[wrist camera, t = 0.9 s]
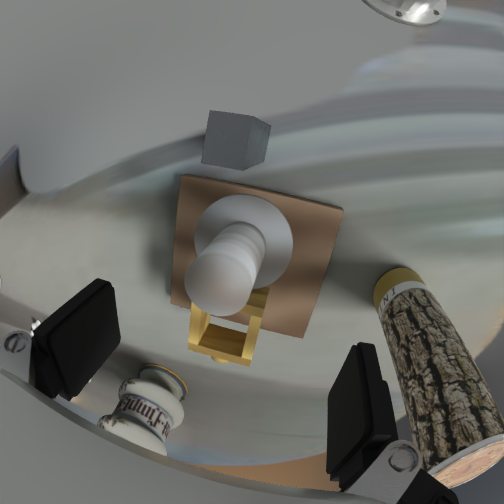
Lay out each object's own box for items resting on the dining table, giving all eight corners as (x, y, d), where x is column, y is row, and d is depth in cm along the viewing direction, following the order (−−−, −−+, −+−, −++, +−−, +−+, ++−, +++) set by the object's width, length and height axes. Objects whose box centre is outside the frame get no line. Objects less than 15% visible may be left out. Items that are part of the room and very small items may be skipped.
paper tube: (422, 262, 31) (528, 425, 8) (418, 309, 33) (487, 473, 10) (371, 268, 32) (438, 462, 9) (371, 316, 34) (409, 499, 11)
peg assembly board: (186, 169, 32) (102, 195, 18) (343, 203, 30) (374, 257, 16) (174, 299, 39) (117, 373, 24) (302, 332, 37) (295, 428, 23)
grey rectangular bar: (242, 120, 29) (209, 110, 19) (271, 125, 28) (253, 116, 18) (235, 155, 30) (201, 163, 20) (264, 161, 30) (243, 170, 20)
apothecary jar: (187, 412, 49) (154, 485, 32) (132, 386, 49) (90, 451, 33) (200, 378, 44) (160, 466, 28) (136, 348, 44) (80, 423, 28)
